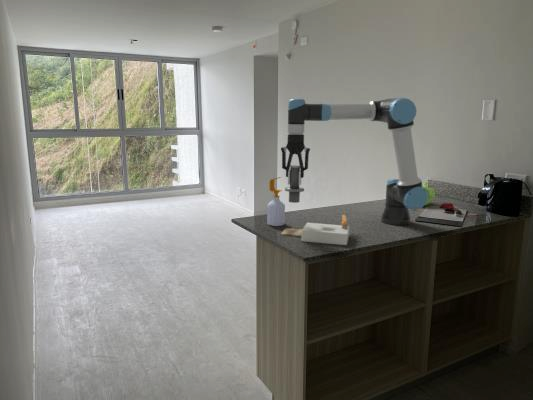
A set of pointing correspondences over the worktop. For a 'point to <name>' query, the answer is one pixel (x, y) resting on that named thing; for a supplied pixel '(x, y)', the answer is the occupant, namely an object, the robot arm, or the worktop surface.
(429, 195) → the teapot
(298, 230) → the cork mat
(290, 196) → the plug
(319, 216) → the worktop surface
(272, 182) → the soap bottle
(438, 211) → the worktop surface
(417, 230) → the worktop surface
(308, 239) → the socket block
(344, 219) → the clip
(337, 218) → the worktop surface
